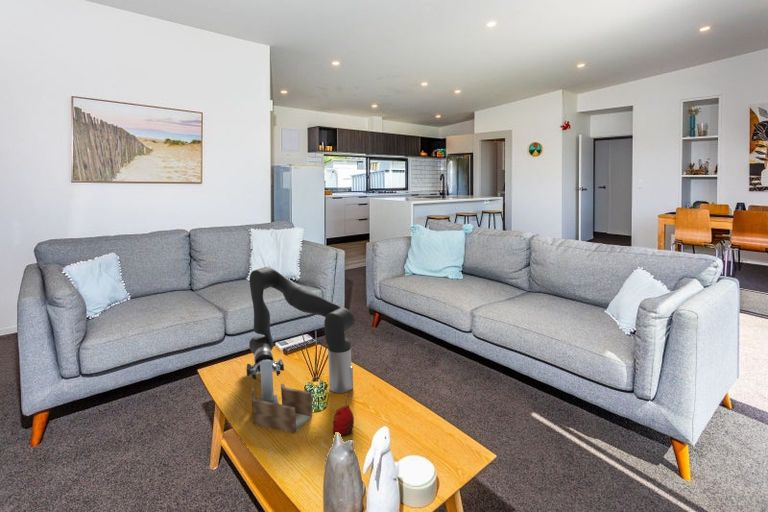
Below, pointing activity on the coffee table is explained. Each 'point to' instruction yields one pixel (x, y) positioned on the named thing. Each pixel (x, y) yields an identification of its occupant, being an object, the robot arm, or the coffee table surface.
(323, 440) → the coffee table surface
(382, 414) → the coffee table surface
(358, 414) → the coffee table surface
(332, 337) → the robot arm
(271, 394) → the baton
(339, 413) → the red clay folk toy
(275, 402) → the pad
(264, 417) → the channel
